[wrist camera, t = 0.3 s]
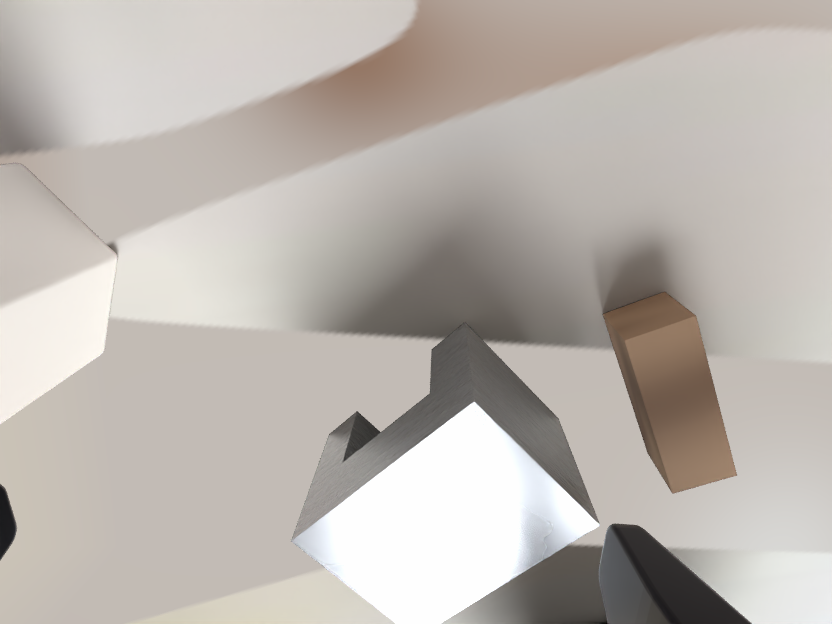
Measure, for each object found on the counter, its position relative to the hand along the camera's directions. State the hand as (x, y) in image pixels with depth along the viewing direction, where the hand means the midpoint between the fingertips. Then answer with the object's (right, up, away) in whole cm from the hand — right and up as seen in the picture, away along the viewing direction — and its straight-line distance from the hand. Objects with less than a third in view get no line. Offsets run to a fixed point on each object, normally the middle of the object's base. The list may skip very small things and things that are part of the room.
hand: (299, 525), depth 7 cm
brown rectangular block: (+11, +1, +13) cm, 17 cm away
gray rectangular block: (+3, -2, +14) cm, 15 cm away
